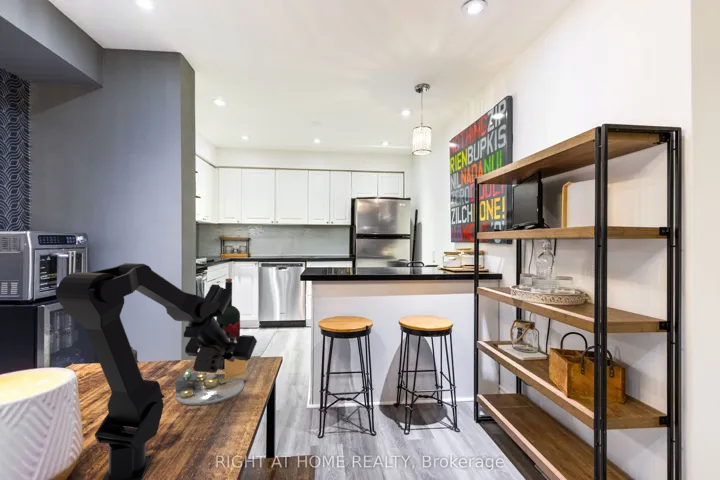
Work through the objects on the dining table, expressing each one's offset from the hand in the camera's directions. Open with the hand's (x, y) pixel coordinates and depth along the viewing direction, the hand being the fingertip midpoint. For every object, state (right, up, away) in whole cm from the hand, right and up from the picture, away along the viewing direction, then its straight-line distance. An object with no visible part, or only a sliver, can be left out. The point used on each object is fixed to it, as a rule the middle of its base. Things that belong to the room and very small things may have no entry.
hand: (233, 360), depth 95 cm
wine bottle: (-9, -9, +19) cm, 22 cm away
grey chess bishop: (-30, -9, +1) cm, 32 cm away
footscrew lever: (-4, -7, +3) cm, 9 cm away
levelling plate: (-7, -9, +1) cm, 11 cm away
